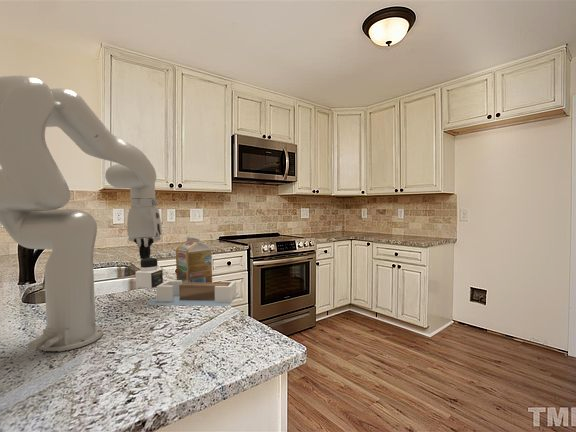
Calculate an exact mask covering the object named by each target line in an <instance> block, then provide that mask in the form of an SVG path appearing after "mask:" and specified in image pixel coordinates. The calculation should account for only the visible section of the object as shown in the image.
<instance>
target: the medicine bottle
mask: <svg viewBox="0 0 576 432" xmlns="http://www.w3.org/2000/svg"><path fill="white" fill-rule="evenodd" d="M163 275H164V274H163V268H158V258H157V257H153V256H150V257H149V258H146V259H140V270H137V271H135V288H137V289H139V288H140V289H153V288H156V286H158V285H160V284H162V283H164V277H163Z"/></svg>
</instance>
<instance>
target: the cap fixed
mask: <svg viewBox="0 0 576 432" xmlns="http://www.w3.org/2000/svg"><path fill="white" fill-rule="evenodd" d="M219 283H230V284H229V285H228V286H215V302H231V301H232V300H233V299H236V298H237V296H236V293H237V281H236V280H231V281H230V280H229V281H228V280H221V281H220V282H219ZM233 301H234V300H233ZM233 301H232V302H233ZM232 302H231V303H232Z"/></svg>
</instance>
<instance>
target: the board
mask: <svg viewBox="0 0 576 432" xmlns="http://www.w3.org/2000/svg"><path fill="white" fill-rule="evenodd" d="M238 295H239V292H236V297H237V296H238ZM234 299H235V298H234ZM234 299H233V300H232V301H231V302H215V300H180V296H174V301H173V302H157V297H155V298H154V299H152V300H150V301H149V302H147V303H145V304H144V305H145V306H187V307H189V306H194V307H195V306H198V307H200V306H201V307H229V305H231V304H232V302H233V301H234Z"/></svg>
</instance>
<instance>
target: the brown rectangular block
mask: <svg viewBox="0 0 576 432" xmlns="http://www.w3.org/2000/svg"><path fill="white" fill-rule="evenodd" d="M229 284H230V283H220V282H212V283H194V282H184V283H182V284H180V285H179V296H180V300H215V286H228V285H229Z"/></svg>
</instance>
